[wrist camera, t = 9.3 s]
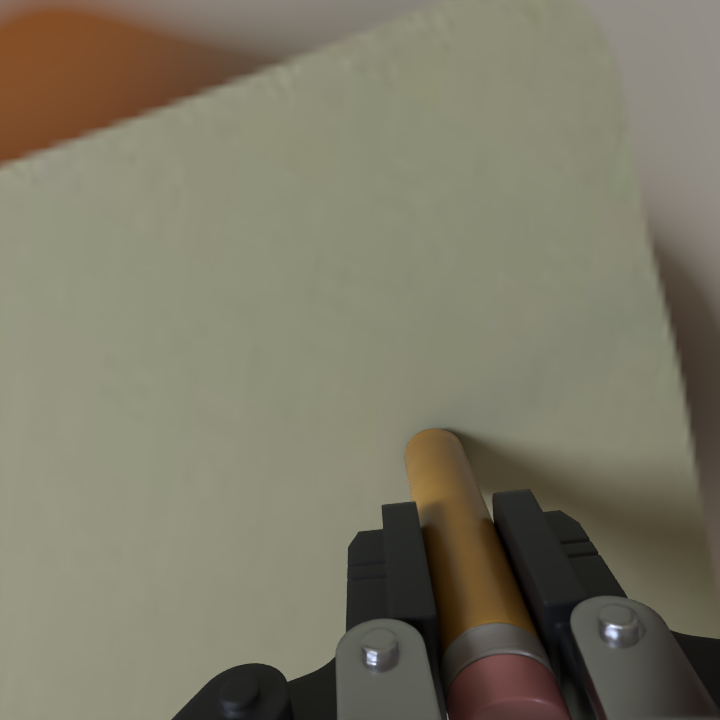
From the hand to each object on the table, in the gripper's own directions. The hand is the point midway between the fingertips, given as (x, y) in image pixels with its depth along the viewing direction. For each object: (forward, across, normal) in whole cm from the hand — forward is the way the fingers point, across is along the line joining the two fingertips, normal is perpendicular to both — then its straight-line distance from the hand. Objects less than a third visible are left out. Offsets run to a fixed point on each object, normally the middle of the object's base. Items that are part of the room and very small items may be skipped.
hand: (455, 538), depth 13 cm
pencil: (+4, 0, 0) cm, 4 cm away
